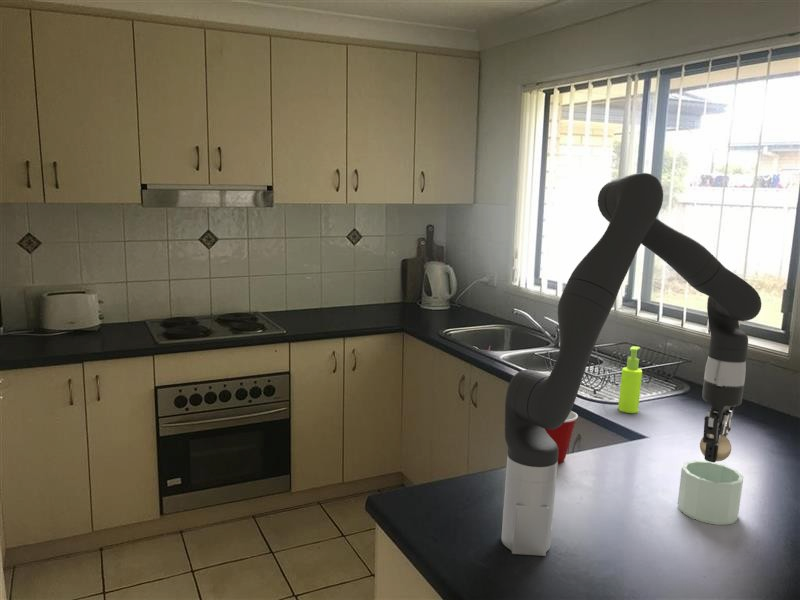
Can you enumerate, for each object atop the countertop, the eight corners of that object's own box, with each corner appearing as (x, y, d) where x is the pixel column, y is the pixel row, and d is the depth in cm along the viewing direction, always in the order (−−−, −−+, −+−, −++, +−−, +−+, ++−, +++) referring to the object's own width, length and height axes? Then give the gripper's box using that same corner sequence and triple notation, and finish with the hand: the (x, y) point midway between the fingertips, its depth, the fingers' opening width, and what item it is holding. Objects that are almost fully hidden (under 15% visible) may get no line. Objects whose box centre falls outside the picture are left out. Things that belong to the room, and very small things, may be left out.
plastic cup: (542, 446, 176) (546, 403, 174) (581, 458, 169) (585, 413, 167) (522, 458, 167) (525, 412, 165) (561, 471, 161) (566, 423, 159)
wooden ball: (734, 466, 138) (738, 439, 137) (704, 465, 138) (708, 437, 137) (722, 455, 144) (725, 428, 143) (693, 453, 144) (697, 427, 143)
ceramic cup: (747, 526, 137) (753, 485, 136) (689, 523, 138) (694, 482, 136) (723, 500, 149) (728, 462, 147) (670, 497, 149) (674, 459, 148)
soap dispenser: (640, 408, 210) (647, 346, 207) (635, 414, 205) (642, 351, 201) (621, 404, 214) (627, 343, 210) (616, 410, 208) (622, 347, 204)
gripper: (714, 369, 146) (704, 443, 149) (694, 382, 135) (685, 461, 138) (751, 376, 141) (741, 452, 144) (735, 390, 130) (724, 472, 133)
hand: (714, 456), depth 141 cm, fingers closed on wooden ball, 5 cm apart
